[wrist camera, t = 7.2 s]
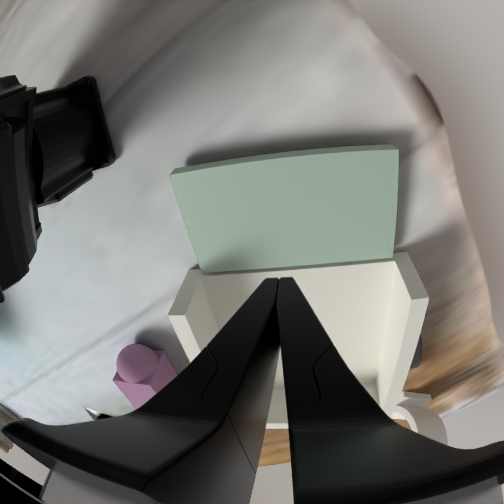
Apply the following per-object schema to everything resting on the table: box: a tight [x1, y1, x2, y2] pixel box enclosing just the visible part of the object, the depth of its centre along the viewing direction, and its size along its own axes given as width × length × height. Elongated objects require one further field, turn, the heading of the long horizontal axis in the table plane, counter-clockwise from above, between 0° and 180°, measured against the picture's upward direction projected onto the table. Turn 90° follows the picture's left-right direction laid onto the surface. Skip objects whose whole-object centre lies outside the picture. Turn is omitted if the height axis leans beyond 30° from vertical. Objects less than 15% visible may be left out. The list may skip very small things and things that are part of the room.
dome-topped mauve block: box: [113, 344, 177, 409], centre depth 29 cm, size 11×4×4 cm, turn 10°
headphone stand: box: [391, 391, 447, 445], centre depth 26 cm, size 5×6×12 cm
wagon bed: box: [168, 252, 429, 429], centre depth 24 cm, size 16×19×5 cm
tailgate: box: [169, 144, 399, 273], centre depth 19 cm, size 1×13×8 cm
